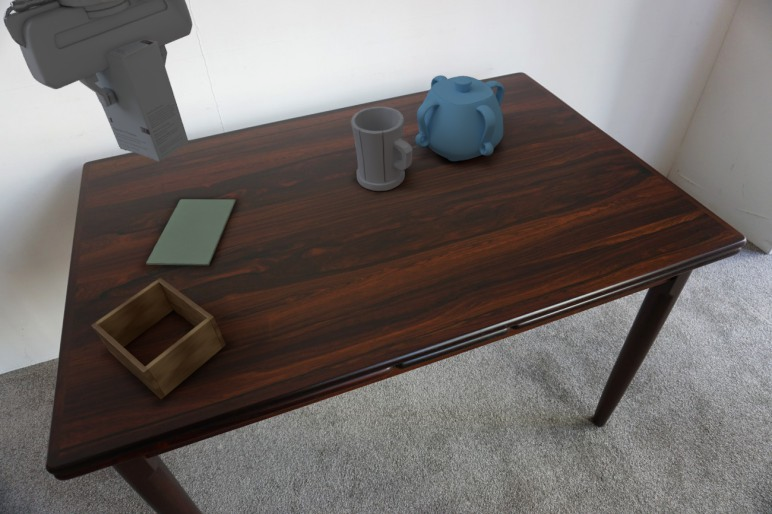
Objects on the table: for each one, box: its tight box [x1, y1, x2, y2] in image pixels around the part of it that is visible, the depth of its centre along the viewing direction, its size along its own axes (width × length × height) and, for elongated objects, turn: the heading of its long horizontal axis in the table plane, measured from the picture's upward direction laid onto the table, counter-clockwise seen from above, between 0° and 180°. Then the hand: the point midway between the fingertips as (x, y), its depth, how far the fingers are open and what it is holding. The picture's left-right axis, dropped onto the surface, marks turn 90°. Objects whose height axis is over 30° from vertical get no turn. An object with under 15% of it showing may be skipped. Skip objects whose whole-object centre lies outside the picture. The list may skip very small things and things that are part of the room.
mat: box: [145, 198, 237, 267], centre depth 87 cm, size 16×10×1 cm, turn 177°
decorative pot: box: [414, 74, 505, 162], centre depth 98 cm, size 16×16×14 cm
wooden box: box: [91, 277, 226, 400], centre depth 68 cm, size 10×12×6 cm
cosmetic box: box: [94, 39, 190, 163], centre depth 69 cm, size 8×6×15 cm
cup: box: [350, 105, 413, 192], centre depth 91 cm, size 10×9×12 cm
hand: (136, 92), depth 68 cm, fingers closed on cosmetic box, 6 cm apart
